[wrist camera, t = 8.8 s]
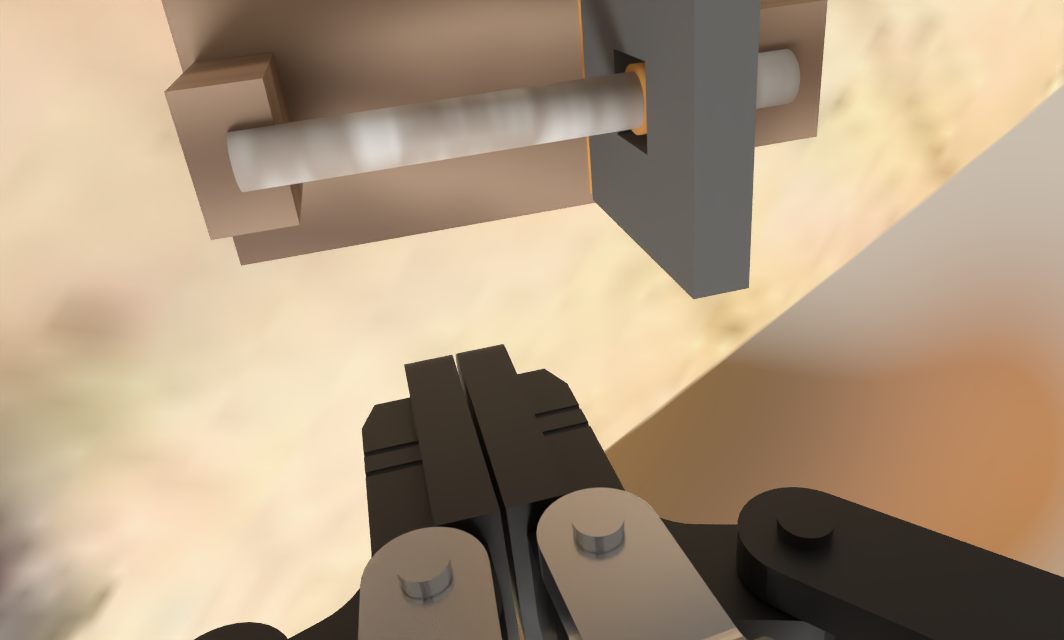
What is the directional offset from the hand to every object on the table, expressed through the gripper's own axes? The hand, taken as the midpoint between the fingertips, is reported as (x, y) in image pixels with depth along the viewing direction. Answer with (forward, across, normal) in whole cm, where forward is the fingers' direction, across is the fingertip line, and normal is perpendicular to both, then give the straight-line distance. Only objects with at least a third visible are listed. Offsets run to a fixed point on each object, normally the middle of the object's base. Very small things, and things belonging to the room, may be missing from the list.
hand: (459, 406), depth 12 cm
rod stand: (+25, -5, 0) cm, 25 cm away
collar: (+22, -10, 0) cm, 24 cm away
